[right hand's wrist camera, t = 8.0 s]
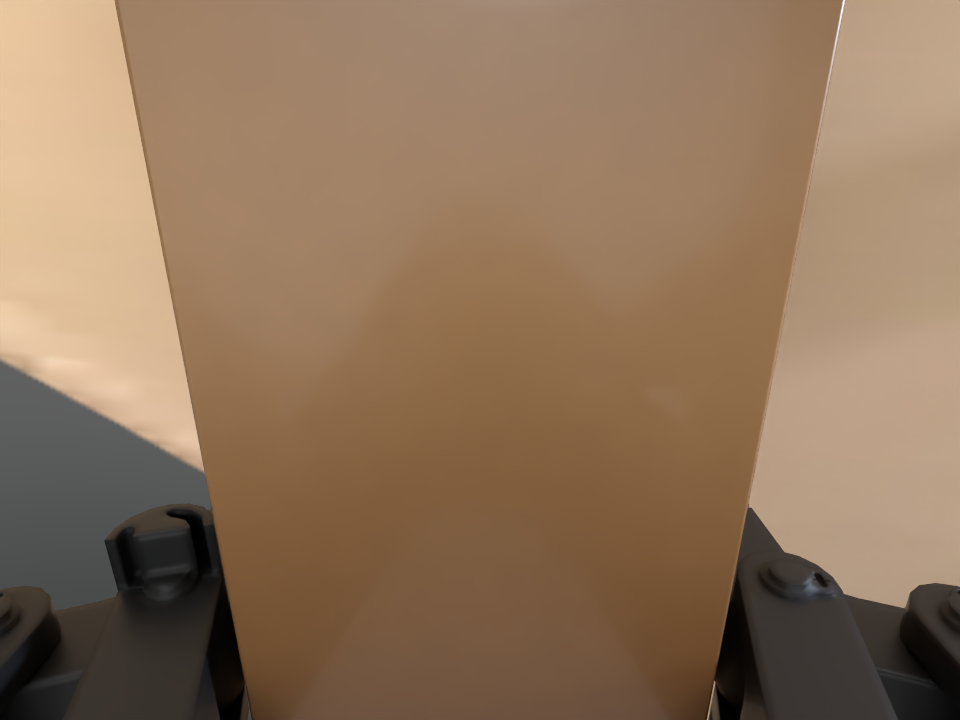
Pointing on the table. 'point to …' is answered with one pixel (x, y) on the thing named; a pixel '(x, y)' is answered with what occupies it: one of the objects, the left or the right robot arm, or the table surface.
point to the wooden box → (479, 332)
